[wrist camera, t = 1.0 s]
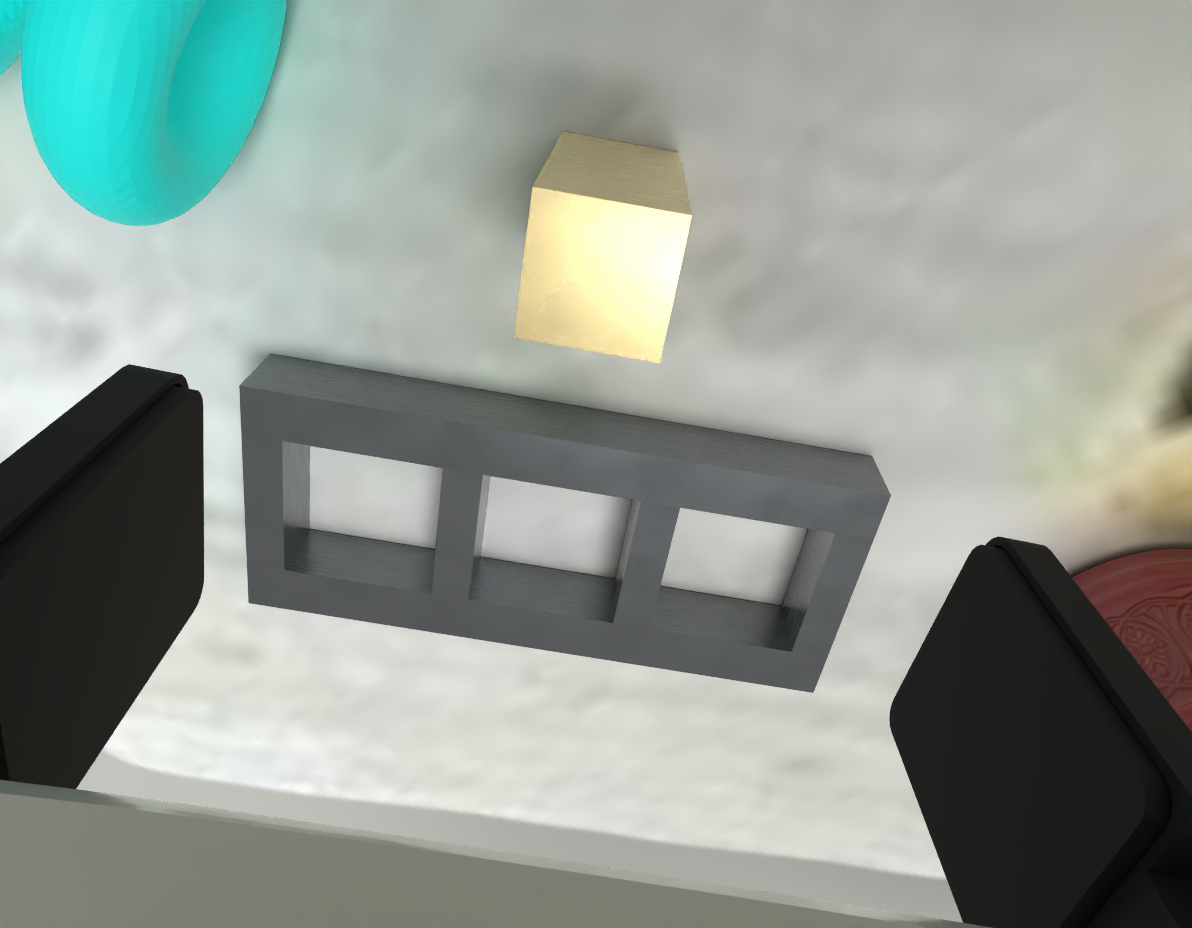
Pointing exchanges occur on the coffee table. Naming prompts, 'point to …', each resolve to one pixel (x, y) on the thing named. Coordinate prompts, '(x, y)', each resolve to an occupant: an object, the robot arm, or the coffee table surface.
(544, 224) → the brass peg
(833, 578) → the grey flat slotted block
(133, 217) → the donuts
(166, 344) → the coffee table surface
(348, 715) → the coffee table surface
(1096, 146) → the coffee table surface
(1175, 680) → the canister
